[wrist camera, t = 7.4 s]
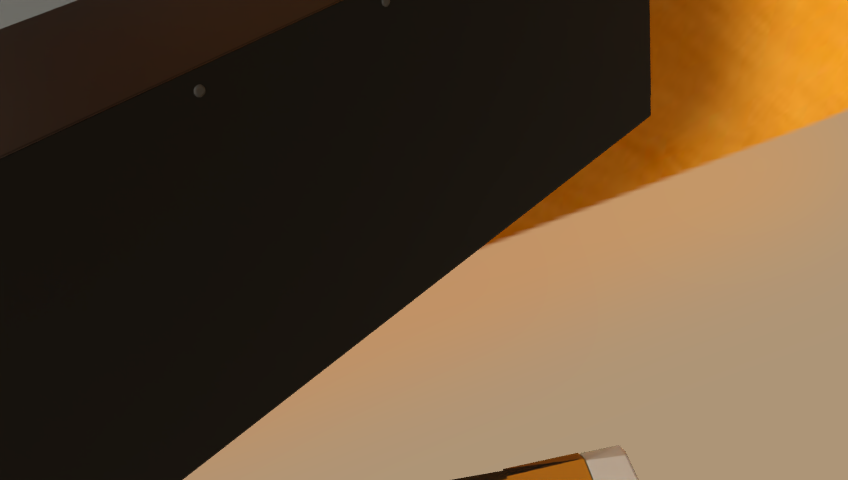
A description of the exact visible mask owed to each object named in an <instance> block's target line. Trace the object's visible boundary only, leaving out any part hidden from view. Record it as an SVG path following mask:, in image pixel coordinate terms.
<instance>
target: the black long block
mask: <svg viewBox="0 0 848 480" xmlns="http://www.w3.org/2000/svg"><path fill="white" fill-rule="evenodd" d="M650 95H651V76H650V10H649V0H77V1H74V2H71V3H69V4H66V5H63V6H61V7H58V8H55V9H53V10H50V11H47V12H45V13H42V14H39V15H37V16H34V17H31V18H29V19H26V20H23V21H20V22H18V23H15V24H12V25H10V26H7V27H4V28H2V29H0V480H183V479H184V478H185V477H187V476H188V475H189V474H190V473H192V472H193V471H194V470H196V469H197V468H198V467H199V466H201V465H202V464H203V463H205V462H206V461H207V460H208V459H210V458H211V457H212V456H214V455H215V454H216V453H217V452H219V451H220V450H221V449H223V448H224V447H225V446H226V445H228V444H229V443H230V442H232V441H233V440H234V439H235V438H237V437H238V436H239V435H241V434H242V433H243V432H244V431H246V430H247V429H248V428H250V427H251V426H252V425H253V424H255V423H256V422H257V421H259V420H260V419H261V418H262V417H264V416H265V415H266V414H268V413H269V412H270V411H271V410H273V409H274V408H275V407H277V406H278V405H279V404H280V403H282V402H283V401H284V400H286V399H287V398H288V397H289V396H291V395H292V394H293V393H295V392H296V391H297V390H298V389H300V388H301V387H302V386H304V385H305V384H306V383H307V382H309V381H310V380H311V379H313V378H314V377H315V376H316V375H318V374H319V373H320V372H322V371H323V370H324V369H325V368H327V367H328V366H329V365H331V364H332V363H333V362H334V361H336V360H337V359H338V358H340V357H341V356H342V355H343V354H345V353H346V352H347V351H349V350H350V349H351V348H352V347H354V346H355V345H356V344H358V343H359V342H360V341H361V340H363V339H364V338H365V337H367V336H368V335H369V334H370V333H371V332H373V331H374V330H376V329H377V328H378V327H379V326H381V325H382V324H383V323H385V322H386V321H387V320H388V319H390V318H391V317H392V316H394V315H395V314H396V313H397V312H399V311H400V310H401V309H403V308H404V307H405V306H406V305H408V304H409V303H410V302H412V301H413V300H414V299H415V298H416V297H418V296H419V295H421V294H422V293H423V292H424V291H426V290H427V289H428V288H430V287H431V286H432V285H433V284H435V283H436V282H437V281H438V280H440V279H441V278H442V277H444V276H445V275H446V274H448V273H449V272H450V271H451V270H453V269H454V268H455V267H457V266H458V265H459V264H460V263H462V262H463V261H464V260H465V259H467V258H468V257H469V256H471V255H472V254H473V253H475V252H476V251H477V250H478V249H480V248H481V247H482V246H484V245H485V244H486V243H487V242H489V241H490V240H491V239H493V238H494V237H495V236H496V235H498V234H499V233H500V232H502V231H503V230H504V229H505V228H507V227H508V226H509V225H511V224H512V223H513V222H514V221H516V220H517V219H518V218H520V217H521V216H522V215H523V214H525V213H526V212H527V211H529V210H530V209H531V208H532V207H534V206H535V205H536V204H538V203H539V202H540V201H541V200H543V199H544V198H545V197H547V196H548V195H549V194H550V193H552V192H553V191H554V190H556V189H557V188H558V187H559V186H561V185H562V184H563V183H565V182H566V181H567V180H568V179H570V178H571V177H572V176H574V175H575V174H576V173H577V172H579V171H580V170H581V169H583V168H584V167H585V166H586V165H588V164H589V163H590V162H592V161H593V160H594V159H595V158H597V157H598V156H599V155H601V154H602V153H603V152H604V151H606V150H607V149H608V148H610V147H611V146H612V145H613V144H615V143H616V142H617V141H619V140H620V139H621V138H622V137H624V136H625V135H626V134H628V133H629V132H630V131H631V130H633V129H634V128H635V127H637V126H638V125H639V124H640V123H642V122H643V121H644V120H646V119H647V118H648V117H649V116H650V115H651V106H650Z"/></svg>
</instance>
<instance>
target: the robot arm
mask: <svg viewBox="0 0 848 480" xmlns="http://www.w3.org/2000/svg"><path fill="white" fill-rule="evenodd" d="M454 480H638V478H637V475H636V473H635V471H634V469H633V467H632V465H631V463H630V461H629V458H628V456H627V454H626V452H625V451H624V450H623V449H622V448H621V447H620V446H614V447H609V448H604V449H599V450H594V451H589V452H584V453H581V454H578V453H575V454H570V455H566V456H561V457H556V458H552V459H547V460H543V461H538V462H533V463H529V464H524V465H520V466H516V467H511V468H506V469H503V471H499V472H493V473H488V474H482V475H477V476H471V477H466V478H460V479H454Z"/></svg>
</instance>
